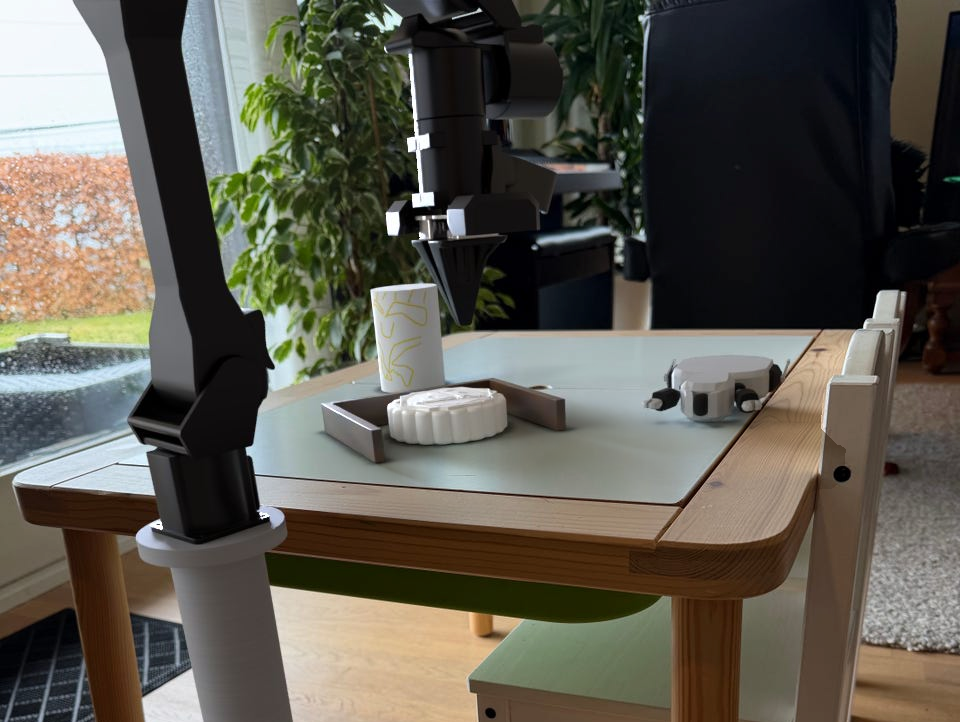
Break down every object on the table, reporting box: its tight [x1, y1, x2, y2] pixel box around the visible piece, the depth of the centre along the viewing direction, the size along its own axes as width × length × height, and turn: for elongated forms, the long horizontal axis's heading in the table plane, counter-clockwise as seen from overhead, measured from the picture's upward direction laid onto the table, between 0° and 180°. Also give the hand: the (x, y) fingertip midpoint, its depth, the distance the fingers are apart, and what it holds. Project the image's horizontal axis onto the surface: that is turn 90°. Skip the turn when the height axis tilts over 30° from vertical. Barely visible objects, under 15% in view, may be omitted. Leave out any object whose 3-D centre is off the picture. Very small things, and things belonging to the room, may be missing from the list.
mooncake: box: [388, 387, 508, 446], centre depth 99 cm, size 12×12×4 cm
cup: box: [370, 283, 446, 394], centre depth 122 cm, size 8×8×12 cm
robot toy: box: [642, 354, 791, 423], centre depth 99 cm, size 12×4×15 cm
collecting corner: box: [320, 377, 567, 464], centre depth 100 cm, size 16×20×3 cm
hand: (464, 325), depth 84 cm, fingers closed
